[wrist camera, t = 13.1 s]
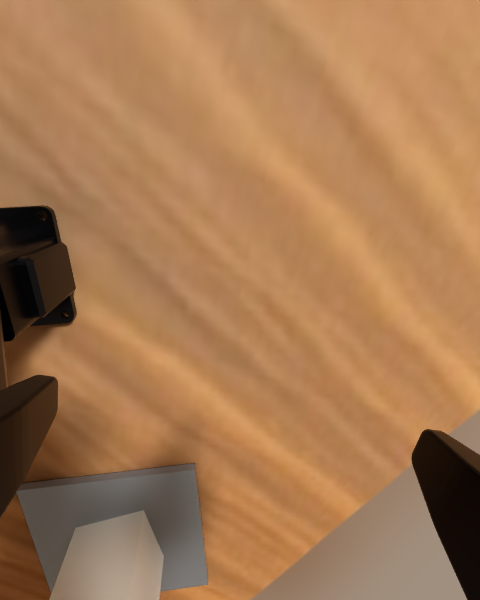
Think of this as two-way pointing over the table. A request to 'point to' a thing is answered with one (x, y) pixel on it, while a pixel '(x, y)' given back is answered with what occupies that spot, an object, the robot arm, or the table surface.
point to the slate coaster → (117, 502)
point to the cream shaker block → (112, 562)
